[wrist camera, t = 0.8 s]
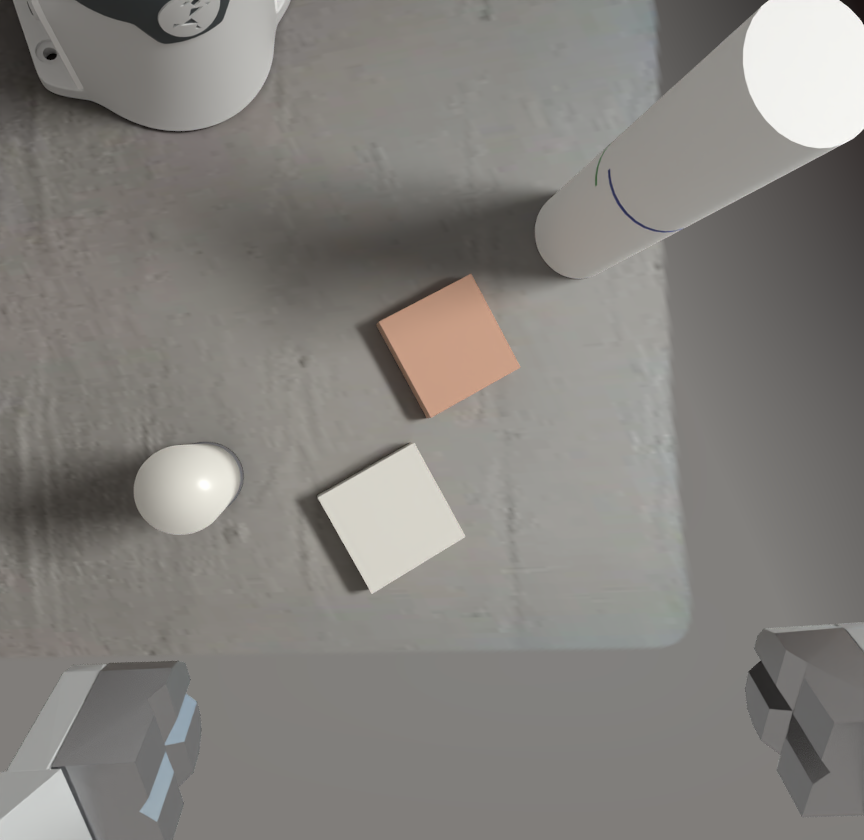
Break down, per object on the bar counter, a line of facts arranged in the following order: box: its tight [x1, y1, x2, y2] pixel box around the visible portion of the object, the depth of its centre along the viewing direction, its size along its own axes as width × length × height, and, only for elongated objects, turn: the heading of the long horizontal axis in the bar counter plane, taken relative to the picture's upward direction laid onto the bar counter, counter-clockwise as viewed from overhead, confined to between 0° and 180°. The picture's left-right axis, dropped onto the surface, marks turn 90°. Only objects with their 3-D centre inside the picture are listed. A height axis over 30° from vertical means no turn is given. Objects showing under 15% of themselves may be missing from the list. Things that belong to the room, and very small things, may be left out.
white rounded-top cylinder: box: [134, 442, 244, 535], centre depth 42 cm, size 5×5×12 cm
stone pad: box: [317, 443, 465, 593], centre depth 50 cm, size 8×8×2 cm
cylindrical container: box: [535, 0, 864, 279], centre depth 42 cm, size 7×7×25 cm
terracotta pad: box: [376, 274, 520, 418], centre depth 51 cm, size 8×8×2 cm
